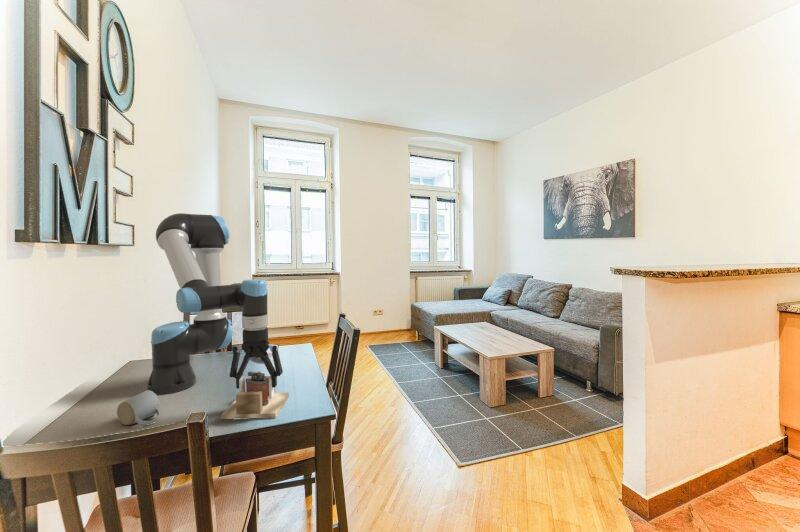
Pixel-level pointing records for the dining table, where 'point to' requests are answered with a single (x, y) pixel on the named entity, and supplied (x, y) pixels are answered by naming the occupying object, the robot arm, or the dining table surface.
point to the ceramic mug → (139, 409)
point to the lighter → (258, 385)
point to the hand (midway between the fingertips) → (257, 397)
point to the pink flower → (260, 358)
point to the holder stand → (255, 405)
